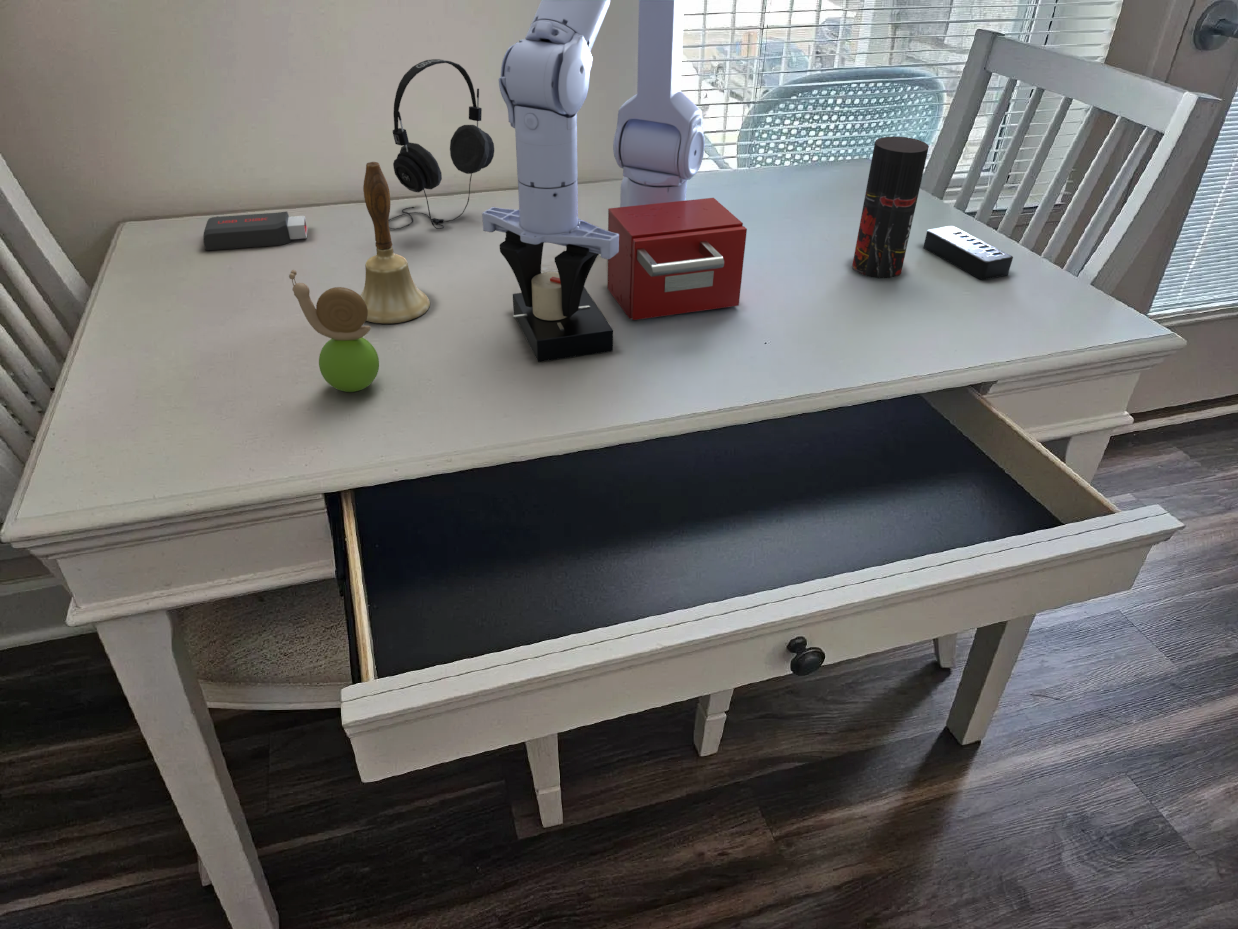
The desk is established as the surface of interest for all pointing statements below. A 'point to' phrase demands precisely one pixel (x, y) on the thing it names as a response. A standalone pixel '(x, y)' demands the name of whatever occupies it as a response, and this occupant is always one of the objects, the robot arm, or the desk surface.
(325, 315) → the snail figurine
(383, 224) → the hand bell
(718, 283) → the red drawer
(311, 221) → the desk surface
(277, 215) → the usb drive
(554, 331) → the panel
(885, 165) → the deodorant
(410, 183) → the headphones
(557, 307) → the lock dial
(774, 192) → the desk surface
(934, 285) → the desk surface
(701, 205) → the cabinet
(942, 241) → the multiport hub
